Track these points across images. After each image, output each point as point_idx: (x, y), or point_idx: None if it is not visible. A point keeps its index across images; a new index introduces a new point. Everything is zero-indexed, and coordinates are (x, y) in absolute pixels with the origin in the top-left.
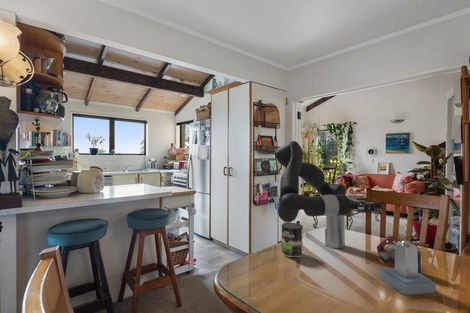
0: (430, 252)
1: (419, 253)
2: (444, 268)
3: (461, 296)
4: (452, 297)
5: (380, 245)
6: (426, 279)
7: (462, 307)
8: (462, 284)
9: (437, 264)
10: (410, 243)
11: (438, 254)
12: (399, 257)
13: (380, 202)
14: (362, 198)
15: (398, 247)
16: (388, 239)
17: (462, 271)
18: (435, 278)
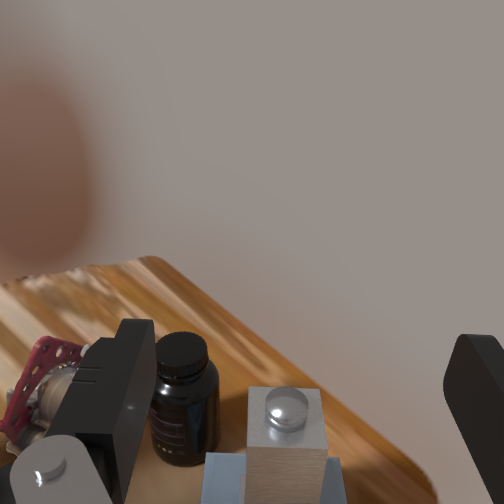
0: (94, 287)
1: (214, 365)
2: (193, 332)
3: (359, 426)
4: (367, 456)
5: (16, 409)
6: (328, 472)
7: (429, 480)
8: (290, 368)
9: (165, 328)
10: (179, 347)
11: (115, 282)
12: (279, 495)
13: (498, 344)
14: (136, 358)
15: (277, 459)
16: (39, 360)
17: (222, 313)
18: (244, 401)
